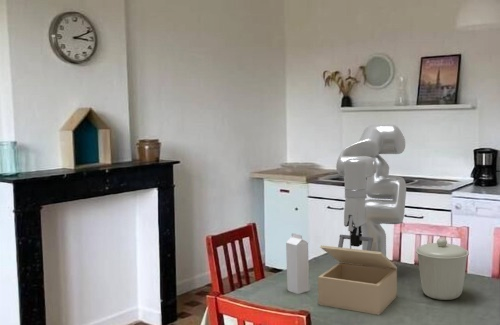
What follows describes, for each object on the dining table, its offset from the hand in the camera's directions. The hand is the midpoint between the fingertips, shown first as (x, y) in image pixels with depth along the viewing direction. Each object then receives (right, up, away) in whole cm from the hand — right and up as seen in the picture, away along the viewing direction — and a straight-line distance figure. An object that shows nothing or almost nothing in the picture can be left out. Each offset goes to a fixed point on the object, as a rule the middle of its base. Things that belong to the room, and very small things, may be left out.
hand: (356, 245), depth 194 cm
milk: (-19, -20, +16) cm, 32 cm away
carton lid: (+1, -5, +3) cm, 6 cm away
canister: (+32, -19, +5) cm, 38 cm away
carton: (+1, -20, +3) cm, 20 cm away
